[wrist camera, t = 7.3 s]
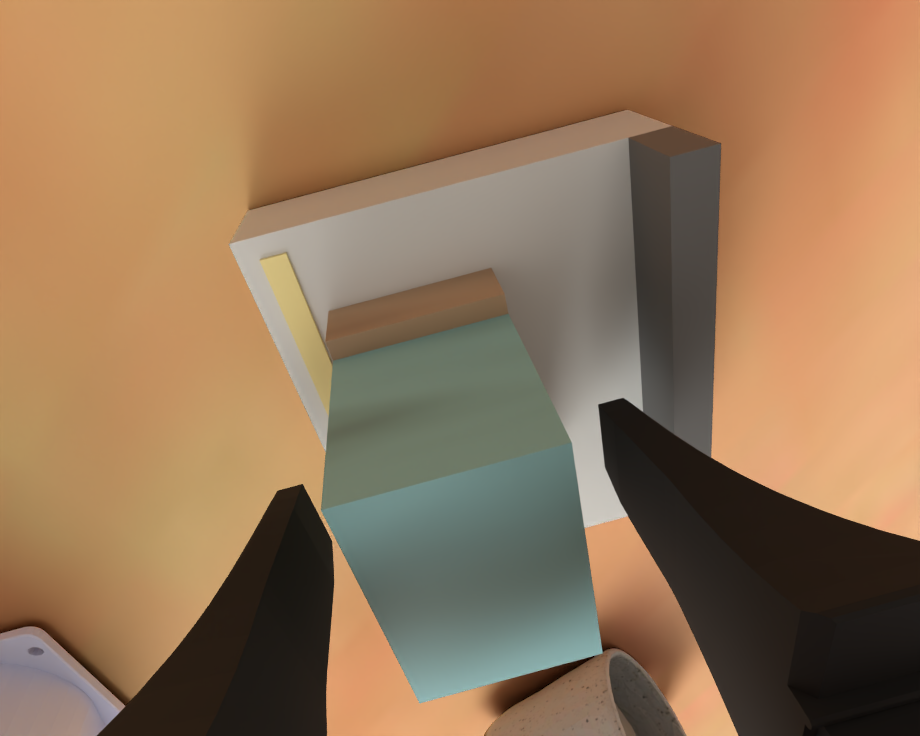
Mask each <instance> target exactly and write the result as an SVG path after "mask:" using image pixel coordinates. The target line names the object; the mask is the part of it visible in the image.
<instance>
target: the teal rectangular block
mask: <svg viewBox="0 0 920 736" xmlns="http://www.w3.org/2000/svg"><path fill="white" fill-rule="evenodd" d="M325 342H326V345H327V347H328V350H329V352H330V355H331V357H332V359H333V367H332V380H331V392H330V405H329V417H328V430H327V443H326V455H325V468H324V480H323V493H322V505H321V511H322V513H323V515H324V517H325V519H326V521H327V523H328V525H329V527H330V529H331V531H332V532H333V534H334V536H335V538H336V540H337V542H338V544H339V546H340V548H341V550H342V552H343V554H344V556H345V558H346V560H347V562H348V564H349V566H350V568H351V570H352V572H353V574H354V576H355V578H356V580H357V582H358V583H359V585H360V587H361V589H362V591H363V593H364V595H365V597H366V599H367V601H368V603H369V605H370V607H371V609H372V611H373V613H374V615H375V617H376V619H377V621H378V623H379V625H380V627H381V629H382V631H383V632H384V634H385V636H386V638H387V640H388V642H389V644H390V646H391V648H392V650H393V652H394V654H395V656H396V658H397V660H398V662H399V664H400V666H401V668H402V670H403V672H404V674H405V676H406V678H407V680H408V682H409V683H410V685H411V687H412V689H413V691H414V693H415V695H416V697H417V699H418V701H419V703H423V702H426V701H430V700H434V699H437V698H441V697H445V696H448V695H452V694H456V693H459V692H463V691H467V690H471V689H474V688H478V687H482V686H485V685H489V684H493V683H496V682H500V681H504V680H507V679H511V678H515V677H518V676H522V675H526V674H529V673H533V672H537V671H540V670H544V669H548V668H551V667H555V666H559V665H562V664H566V663H570V662H573V661H577V660H581V659H584V658H588V657H592V656H595V655H599V654H603V652H602V645H601V638H600V632H599V625H598V618H597V611H596V604H595V597H594V591H593V584H592V577H591V570H590V563H589V556H588V550H587V543H586V536H585V529H584V522H583V515H582V509H581V502H580V495H579V488H578V481H577V474H576V468H575V461H574V454H573V447H572V442H571V440H570V438H569V436H568V434H567V432H566V430H565V428H564V426H563V424H562V421H561V419H560V417H559V415H558V413H557V411H556V409H555V407H554V405H553V403H552V401H551V399H550V397H549V395H548V393H547V391H546V389H545V387H544V385H543V383H542V381H541V379H540V377H539V375H538V373H537V371H536V369H535V367H534V365H533V363H532V360H531V358H530V356H529V354H528V352H527V350H526V348H525V346H524V344H523V342H522V340H521V338H520V336H519V334H518V332H517V330H516V328H515V326H514V324H513V322H512V320H511V318H510V316H509V314H508V309H507V303H506V298H505V293H504V292H503V290H502V288H501V286H500V284H499V282H498V280H497V278H496V276H495V274H494V272H493V270H492V268H488V269H484V270H481V271H477V272H473V273H469V274H466V275H462V276H458V277H455V278H451V279H447V280H443V281H440V282H436V283H432V284H428V285H425V286H421V287H417V288H413V289H410V290H406V291H402V292H398V293H395V294H391V295H387V296H383V297H380V298H376V299H372V300H369V301H365V302H361V303H357V304H354V305H350V306H346V307H342V308H339V309H335V310H331V311H329V312H328V321H327V330H326V339H325Z"/></svg>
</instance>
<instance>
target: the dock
mask: <svg viewBox="0 0 920 736" xmlns="http://www.w3.org/2000/svg"><path fill="white" fill-rule="evenodd" d="M720 161H721V143H718V142H716V141H713V140H710V139H707V138H705V137H702V136H699V135H696V134H694V133H691V132H688V131H685V130H682V129H680V128H677V127H674V126H671V125H669V124H666V123H663V122H660V121H658V120H655V119H652V118H649V117H647V116H644V115H641V114H638V113H635V112H633V111H630V110H624V111H621V112H617V113H613V114H609V115H606V116H602V117H598V118H594V119H590V120H587V121H583V122H579V123H575V124H572V125H568V126H564V127H560V128H557V129H553V130H549V131H545V132H542V133H538V134H534V135H530V136H527V137H523V138H519V139H515V140H512V141H508V142H504V143H500V144H496V145H493V146H489V147H485V148H481V149H478V150H474V151H470V152H466V153H463V154H459V155H455V156H451V157H448V158H444V159H440V160H436V161H433V162H429V163H425V164H421V165H417V166H414V167H410V168H406V169H402V170H399V171H395V172H391V173H387V174H384V175H380V176H376V177H372V178H369V179H365V180H361V181H357V182H354V183H350V184H346V185H342V186H339V187H335V188H331V189H327V190H323V191H320V192H316V193H312V194H308V195H305V196H301V197H297V198H293V199H290V200H286V201H282V202H278V203H275V204H271V205H267V206H263V207H260V208H256V209H252V210H248V211H247V213H246V215H245V216H244V218H243V220H242V222H241V223H240V225H239V227H238V228H237V230H236V232H235V234H234V235H233V237H232V239H231V241H230V242H229V246H230V248H231V250H232V252H233V255H234V257H235V259H236V261H237V263H238V265H239V267H240V270H241V272H242V274H243V276H244V278H245V280H246V283H247V285H248V287H249V289H250V291H251V293H252V295H253V298H254V300H255V302H256V304H257V306H258V308H259V310H260V313H261V315H262V317H263V319H264V321H265V323H266V325H267V328H268V330H269V332H270V334H271V336H272V338H273V340H274V343H275V345H276V347H277V349H278V351H279V353H280V355H281V358H282V360H283V362H284V364H285V366H286V368H287V370H288V373H289V375H290V377H291V379H292V381H293V383H294V386H295V388H296V390H297V392H298V394H299V396H300V398H301V401H302V403H303V405H304V407H305V409H306V411H307V413H308V416H309V418H310V420H311V422H312V424H313V426H314V428H315V431H316V433H317V435H318V437H319V439H320V441H321V443H322V446H323V448H324V450H325V452H326V443H327V430H328V417H329V405H330V392H331V380H332V367H333V359H332V357H331V355H330V352H329V350H328V347H327V345H326V342H325V339H326V330H327V321H328V312H329V311H331V310H335V309H339V308H342V307H346V306H350V305H354V304H357V303H361V302H365V301H369V300H372V299H376V298H380V297H383V296H387V295H391V294H395V293H398V292H402V291H406V290H410V289H413V288H417V287H421V286H425V285H428V284H432V283H436V282H440V281H443V280H447V279H451V278H455V277H458V276H462V275H466V274H469V273H473V272H477V271H481V270H484V269H488V268H492V270H493V272H494V274H495V276H496V278H497V280H498V282H499V284H500V286H501V288H502V290H503V292H504V293H505V298H506V303H507V309H508V314H509V316H510V318H511V320H512V322H513V324H514V326H515V328H516V330H517V332H518V334H519V336H520V338H521V340H522V342H523V344H524V346H525V348H526V350H527V352H528V354H529V356H530V358H531V360H532V363H533V365H534V367H535V369H536V371H537V373H538V375H539V377H540V379H541V381H542V383H543V385H544V387H545V389H546V391H547V393H548V395H549V397H550V399H551V401H552V403H553V405H554V407H555V409H556V411H557V413H558V415H559V417H560V419H561V421H562V424H563V426H564V428H565V430H566V432H567V434H568V436H569V438H570V440H571V442H572V447H573V454H574V461H575V468H576V474H577V481H578V488H579V495H580V502H581V509H582V515H583V522H584V528H586V527H590V526H594V525H597V524H601V523H605V522H608V521H612V520H616V519H619V518H623V517H627V516H628V515H627V513H626V512H625V510H624V508H623V506H622V505H621V503H620V501H619V498H618V496H617V494H616V492H615V490H614V487H613V485H612V483H611V480H610V478H609V476H608V473H607V471H606V469H605V464H604V455H603V446H602V436H601V427H600V418H599V409H598V404H602V403H605V402H609V401H613V400H616V399H620V398H624V399H626V400H628V401H629V402H630V403H632V404H633V405H634V406H636V407H637V408H638V409H640V410H641V411H642V412H644V413H645V414H647V415H648V416H649V417H651V418H652V419H653V420H655V421H656V422H658V423H659V424H660V425H662V426H663V427H665V428H666V429H667V430H669V431H670V432H672V433H673V434H675V435H676V436H678V437H679V438H681V439H682V440H684V441H685V442H687V443H688V444H690V445H692V446H693V447H695V448H696V449H698V450H699V451H701V452H703V453H704V454H706V455H707V456H709V457H711V444H712V412H713V381H714V349H715V318H716V286H717V255H718V223H719V192H720Z"/></svg>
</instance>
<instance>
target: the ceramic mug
mask: <svg viewBox="0 0 920 736" xmlns="http://www.w3.org/2000/svg"><path fill="white" fill-rule="evenodd" d="M484 736H686V734H685V732H684V730H683V728H682V726H681V724H680V722H679V720H678V719H677V717H676V715H675V713H674V711H673V710H672V708H671V706H670V705H669V703H668V702H667V700H666V698H665V696H664V695H663V693H662V692H661V691H660V689H659V688H658V686H657V685H656V683H655V682H654V681H653V679H652V678H651V677H650V675H649V674H648V673H647V671H646V670H645V669H644V668H643V667H642V666H641V665H640V664H639V663H638V662H637V661H635V660H634V659H633V658H632V657H631V656H630V655H629V654H627V653H625V652H624V651H622V650H620V649H616V648H612V649H607V650H605V651H604V652H603V654H599V655H597V656H595V657H594V658H592V659H590V660H589V661H587V662H585V663H584V664H582V665H581V666H579V667H577V668H575V669H574V670H572V671H570V672H569V673H567V674H565V675H563V676H562V677H560V678H559V679H557V680H556V681H554V682H553V683H551V684H550V685H548V686H547V687H545V688H543V689H542V690H540V691H538V692H537V693H535V694H533V695H531V696H530V697H528V698H526V699H525V700H523V701H521V702H519V703H517V704H516V705H514V706H512V707H510V708H509V709H508V710H507V711H505V712H504V713H503V714H502V715H501V716H500V717H498V718H497V719H496V720H495V721H494V722H493V723H492V724H491V726H490V727H489V728H488V730H487V731H486V732H485V734H484Z"/></svg>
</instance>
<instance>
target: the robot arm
mask: <svg viewBox="0 0 920 736" xmlns="http://www.w3.org/2000/svg"><path fill="white" fill-rule="evenodd" d="M598 409H599V418H600V427H601V436H602V446H603V455H604V464H605V469H606V471H607V473H608V476H609V478H610V480H611V483H612V485H613V487H614V490H615V492H616V494H617V496H618V498H619V501H620V503H621V505H622V506H623V508H624V510H625V512H626V513H627V515H628V517H629V518H630V520H631V522H632V524H633V525H634V527H635V529H636V530H637V532H638V534H639V535H640V537H641V539H642V540H643V542H644V544H645V545H646V547H647V549H648V550H649V552H650V554H651V555H652V557H653V559H654V560H655V562H656V564H657V565H658V567H659V569H660V570H661V572H662V574H663V575H664V577H665V579H666V580H667V582H668V584H669V586H670V588H671V589H672V591H673V593H674V595H675V597H676V599H677V601H678V603H679V605H680V607H681V609H682V611H683V613H684V615H685V617H686V620H687V622H688V624H689V626H690V628H691V630H692V632H693V634H694V637H695V639H696V641H697V643H698V645H699V647H700V650H701V652H702V654H703V656H704V658H705V661H706V663H707V665H708V667H709V669H710V672H711V674H712V676H713V678H714V680H715V683H716V685H717V687H718V690H719V692H720V694H721V696H722V699H723V701H724V703H725V706H726V708H727V710H728V713H729V715H730V717H731V719H732V722H733V724H734V726H735V729H736V731H737V733H738V736H920V541H918V540H914V539H911V538H907V537H903V536H900V535H896V534H892V533H888V532H885V531H881V530H878V529H875V528H872V527H869V526H866V525H863V524H860V523H856V522H853V521H850V520H847V519H844V518H841V517H839V516H836V515H833V514H830V513H827V512H825V511H822V510H819V509H817V508H814V507H812V506H809V505H807V504H804V503H802V502H799V501H797V500H794V499H792V498H790V497H787V496H785V495H783V494H780V493H778V492H776V491H774V490H771V489H769V488H767V487H765V486H763V485H761V484H759V483H757V482H755V481H753V480H751V479H749V478H747V477H745V476H743V475H741V474H739V473H737V472H735V471H733V470H731V469H730V468H728V467H726V466H724V465H723V464H721V463H719V462H718V461H716V460H714V459H712V458H711V457H709V456H707V455H706V454H704V453H703V452H701V451H699V450H698V449H696V448H695V447H693V446H692V445H690V444H688V443H687V442H685V441H684V440H682V439H681V438H679V437H678V436H676V435H675V434H673V433H672V432H670V431H669V430H667V429H666V428H665V427H663V426H662V425H660V424H659V423H658V422H656V421H655V420H653V419H652V418H651V417H649V416H648V415H647V414H645V413H644V412H642V411H641V410H640V409H638V408H637V407H636V406H634V405H633V404H632V403H630V402H629V401H628V400H626V399H624V398H620V399H616V400H613V401H609V402H605V403H602V404H598ZM333 591H334V566H333V549H332V540H331V538H330V536H329V534H328V532H327V530H326V528H325V526H324V524H323V523H322V521H321V519H320V517H319V515H318V513H317V511H316V509H315V507H314V505H313V503H312V501H311V499H310V497H309V495H308V494H307V492H306V490H305V488H304V486H303V484H301V485H297V486H294V487H290V488H286V489H282V490H279V491H277V493H276V494H275V496H274V498H273V500H272V501H271V503H270V505H269V506H268V508H267V510H266V512H265V513H264V515H263V517H262V519H261V521H260V522H259V524H258V526H257V528H256V530H255V531H254V533H253V535H252V537H251V538H250V540H249V542H248V544H247V545H246V547H245V549H244V550H243V552H242V554H241V555H240V557H239V559H238V560H237V562H236V564H235V565H234V567H233V569H232V570H231V572H230V574H229V575H228V577H227V578H226V580H225V581H224V583H223V584H222V586H221V587H220V589H219V591H218V592H217V594H216V595H215V597H214V598H213V600H212V601H211V603H210V604H209V606H208V607H207V609H206V610H205V611H204V613H203V614H202V616H201V617H200V618H199V620H198V621H197V622H196V624H195V625H194V626H193V628H192V629H191V630H190V632H189V633H188V634H187V635H186V637H185V638H184V639H183V641H182V642H181V643H180V645H179V646H178V647H177V648H176V649H175V651H174V652H173V653H172V654H171V656H170V657H169V658H168V659H167V660H166V661H165V662H164V664H163V665H162V666H161V667H160V668H159V669H158V671H157V672H156V673H155V674H154V675H153V676H152V677H151V679H150V680H149V681H148V682H147V683H146V684H145V686H144V687H143V688H142V689H141V690H140V691H139V692H138V693H137V695H136V696H135V697H134V698H133V699H132V700H131V701H130V702H129V703H128V704H127V705H126V706H125V705H124V704H123V703H122V702H121V701H119V700H118V699H117V698H116V697H115V696H114V695H113V694H112V693H111V692H110V691H109V690H108V689H107V688H105V687H104V686H103V685H102V684H101V683H100V682H99V681H98V680H97V679H96V678H95V677H94V676H93V675H91V674H90V673H89V672H88V671H87V670H86V669H85V668H84V667H83V666H82V665H81V664H80V663H79V662H77V661H76V660H75V659H74V658H73V657H72V656H71V655H70V654H69V653H68V652H67V651H66V650H65V649H63V648H62V647H61V646H60V645H59V644H58V643H57V642H56V641H55V640H54V639H53V638H52V637H51V636H49V635H48V634H47V633H46V632H45V631H44V630H42V629H41V628H38V627H33V626H28V627H23V628H19V629H15V630H12V631H8V632H4V633H1V634H0V736H327V718H326V684H327V667H328V654H329V642H330V630H331V617H332V604H333Z"/></svg>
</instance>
